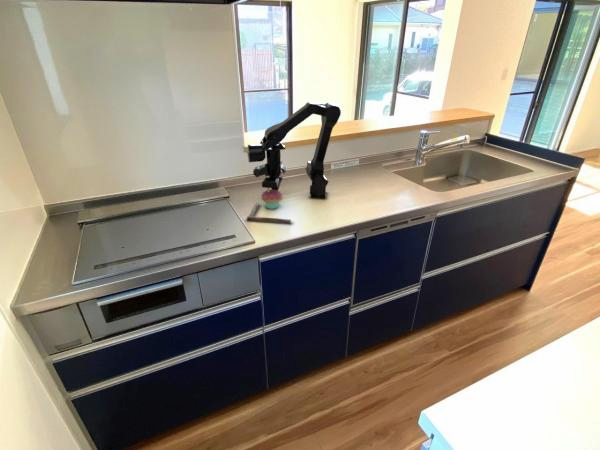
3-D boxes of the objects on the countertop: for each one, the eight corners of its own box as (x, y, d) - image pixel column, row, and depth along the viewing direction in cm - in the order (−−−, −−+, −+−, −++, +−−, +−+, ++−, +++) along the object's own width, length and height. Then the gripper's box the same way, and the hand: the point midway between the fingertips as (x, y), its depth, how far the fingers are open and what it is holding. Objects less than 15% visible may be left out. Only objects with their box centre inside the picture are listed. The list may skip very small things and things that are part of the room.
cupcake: (266, 212, 139) (265, 185, 133) (258, 204, 146) (257, 177, 140) (285, 208, 143) (285, 181, 136) (277, 199, 149) (276, 174, 143)
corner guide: (295, 208, 142) (295, 205, 142) (290, 224, 131) (290, 220, 130) (255, 205, 144) (255, 202, 144) (247, 220, 133) (246, 217, 133)
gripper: (260, 151, 149) (262, 184, 157) (248, 167, 133) (250, 203, 141) (285, 152, 147) (286, 186, 155) (276, 168, 132) (277, 205, 140)
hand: (275, 194), depth 148 cm, fingers closed
